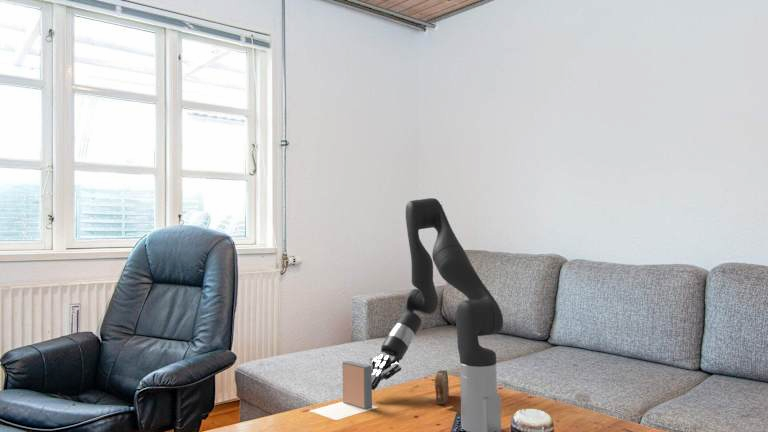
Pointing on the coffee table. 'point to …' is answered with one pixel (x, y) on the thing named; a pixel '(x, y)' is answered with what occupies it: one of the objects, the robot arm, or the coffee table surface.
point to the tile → (357, 384)
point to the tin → (441, 387)
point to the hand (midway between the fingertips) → (370, 388)
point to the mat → (339, 410)
